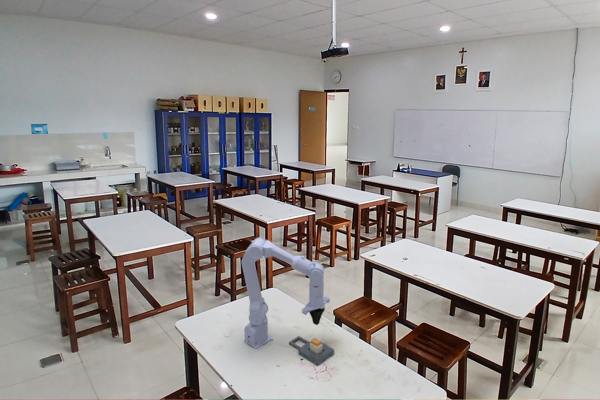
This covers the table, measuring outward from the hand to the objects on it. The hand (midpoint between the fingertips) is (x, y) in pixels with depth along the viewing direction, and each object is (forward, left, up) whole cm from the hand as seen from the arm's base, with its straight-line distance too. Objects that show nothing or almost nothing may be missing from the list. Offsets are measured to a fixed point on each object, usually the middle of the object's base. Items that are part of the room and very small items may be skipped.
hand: (316, 323), depth 157 cm
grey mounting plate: (-5, +4, -9) cm, 11 cm away
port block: (-5, -5, -9) cm, 12 cm away
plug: (-5, -5, -9) cm, 12 cm away
